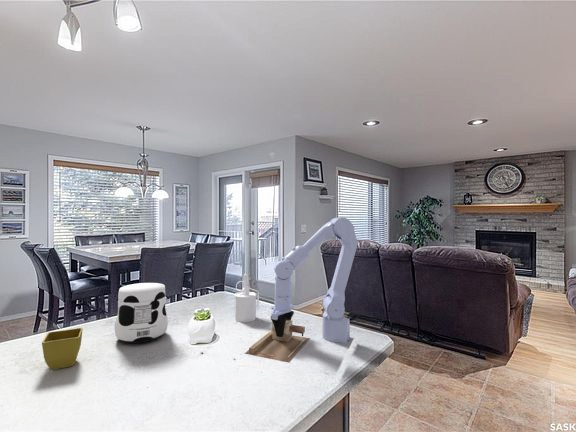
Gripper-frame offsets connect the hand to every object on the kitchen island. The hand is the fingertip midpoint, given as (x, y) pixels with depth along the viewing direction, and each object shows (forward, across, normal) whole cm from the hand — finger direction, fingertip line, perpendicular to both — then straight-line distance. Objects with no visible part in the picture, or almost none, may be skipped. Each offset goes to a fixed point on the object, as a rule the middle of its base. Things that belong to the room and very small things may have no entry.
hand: (282, 334), depth 111 cm
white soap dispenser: (+3, -14, -22) cm, 26 cm away
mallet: (+1, 0, +2) cm, 3 cm away
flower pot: (+3, +41, -52) cm, 66 cm away
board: (+3, +6, +2) cm, 7 cm away
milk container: (+3, +16, -48) cm, 51 cm away
